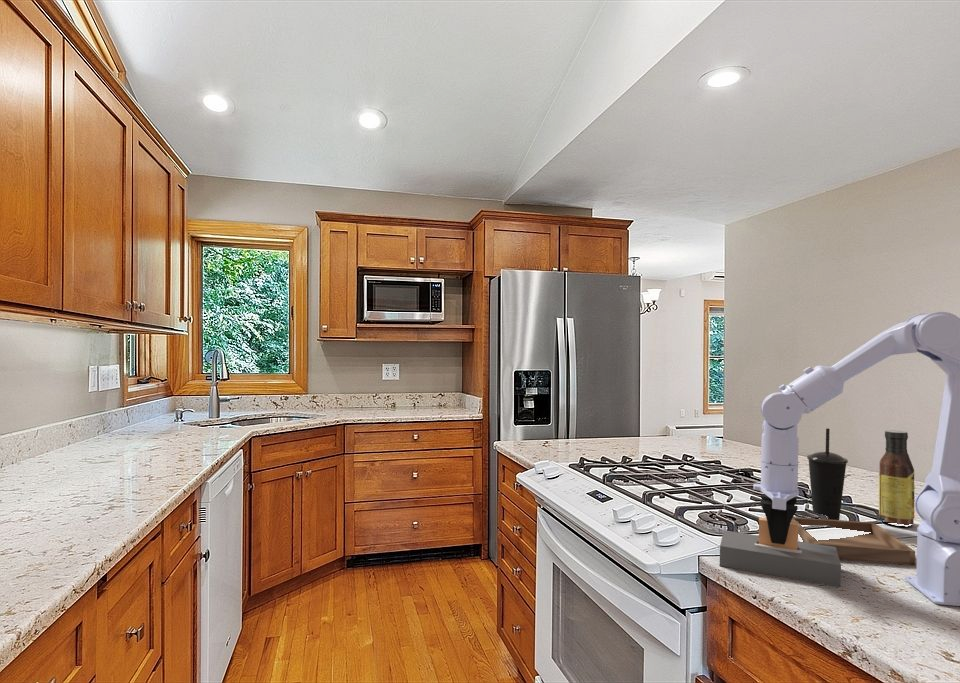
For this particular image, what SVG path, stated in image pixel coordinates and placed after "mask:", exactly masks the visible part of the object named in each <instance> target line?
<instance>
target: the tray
mask: <svg viewBox="0 0 960 683" xmlns="http://www.w3.org/2000/svg"><path fill="white" fill-rule="evenodd" d="M797 521H798V522H799V523H800V524H801V525H829V526H831V527H836V528H842V529H850V530H857V531H864V532H871V533H869V534H865V535H864V534H863V535H858V536H854V537H846V538H840V539H829V540H818V541H817V540H816V539H815V538H814V537H812V536H811V535H810V534H809V533H808V532H807V531H806V530H805V529H804V528H803V527H802V526H801V525H800V524H799V523H798V534H799V535H800V537H801V538H802V540H803V542H805V543H812V544H818V545H825V546H832V547H836V550H837V553H838V556H839V560H840V561H853V562H867V563H879V564H894V565H904V566H915V565H916V550H914V549H913V548H912V547H910V546H909V545H907V544H906V543H904V542H902V541H901V540H899V539H898V537H897V538H896V537H895V536H894V535H893V534H891V533H889V532H888V531H887V530H885V529H884V528H882V527H881V526H880V525H878V524H877V523H875V522H873V521H872V522H871V521H856V520H840V519H839V520H830V519H815V518H813V517H798V516H793V518H792V520H791V522H797Z"/></svg>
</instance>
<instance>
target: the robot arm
mask: <svg viewBox="0 0 960 683" xmlns="http://www.w3.org/2000/svg"><path fill="white" fill-rule="evenodd" d="M914 353H919V354H921V355H923V356H925V357H927V358H929V359H930V360H931V361H932V362H933V363H934V364H935V365H936V366H937V367H939V368H940V369H941V370H942V371H943V372H944V373H945V374H946V375H945V382H944V388H943V389H944V390H943V395H942V402H941V408H940V416H939V420H938V426H937V427H938V428H937V434H936V441H935V447H934V451H933V452H934V454H933V459H932V467H931V470H930V471H929V473H928V474H927V475H926V477H925V479H924V485H923V488H922V489H921V490H920V491H919V493H917V495H916V497H915V498H914V510H915V511H916V513H917V514H918V516H919V517H920V518H921V519H922V520H921V523H919V525H918V526H917V529H916V530H917V534H916V535H917V536H916V538H917V539H916V570H915V571H916V576H914V575H913V576H911V575H905V576H904V580H905V581H906V582H908V583H909V584H910V585H912V586H913V587H914V588H915V589H917V590H918V592H920V593H921V594H922V595H924V596H925V597H927V598H928V599H929V600H930V601H931V602H933V603H934V604H936V605H946V606H957V607H960V317H959V316H957V315H955V314H953V313H951V312H947V311H935V312H930V313H918V314H915V315H913V316H911V317H909V318H908V319H907V320H905V321H903V322H899V323H897V324H895V325H892V326H891V327H889V328H887V329H885V330H884V331H882V332H880V333H878V334H877V335H876V336H874V337H872V338H871V339H870V340H869V341H867V342H866V343H864V344H862V345H861V346H859V347H858V348H857V349H855V350H853V351H852V352H851V353H849V354H847V355H846V356H845V357H843V358H841V359H840V360H838V362H836V363H835V364H833V365H831V366H828V365H821V364H820V365H815V367H813V368H812V367H811V366H808V367H806V368H805V369H803V374H802V375H800V376H799V377H797V378H795V379H794V380H793V381H791V382H789V384H786V385H785V384H784V383H783V384H781V385H779V386H778V389H779V390H780V391H778V392H773V393H770V394H769V395H767V396H766V397H765V398H764V399H763V401H762V403H761V406H760V412H761V414H762V417H763V418H764V420H763V422H762V427H761V429H762V434H761V441H760V442H761V443H760V444H761V447H760V448H761V449H760V450H761V451H760V452H761V453H760V455H761V456H760V459H761V460H760V483H753V490H756V491H760V492H761V494H760V498H761V499H760V506H761V509H762V511H763V512H764V516H765V518H767V522H768V528H769V535H770V539H771V542H772V543H776V544H783V545H785V542H786V539H787V535H788V530H789V526H790V523H791V520H792V518H793V517H795V515H796V513H797V511H798V509H799V508H798V505H796V504H797V501H798V500H797V499H798V498H797V497H798V496H799V494H800V490H799V488H798V487H799V486H798V485H799V484H798V483H799V478H798V477H799V436H798V424H799V423H800V421H801V419H802V415H804V414H810V413H812V412H814V411H815V410H816V409H818V408H820V407H822V406H823V405H825V404H827V403H829V402H830V401H831V400H833V399H835V398H836V397H838V396H840V395H841V394H842V393H843V391H844V385H845V382H846V381H849V380H850V379H851V378H854V377H855V376H857V375H859V374H861V373H863V372H864V371H867V370H868V369H869V368H871V367H873V366H875V365H877V364H878V363H880V362H882V361H883V360H885V359H888V358H889V357H890V356H894V355H903V354H904V355H905V354H914Z"/></svg>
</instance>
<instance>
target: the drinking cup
mask: <svg viewBox="0 0 960 683" xmlns="http://www.w3.org/2000/svg"><path fill="white" fill-rule="evenodd" d="M830 433H831V432H830V428H825V451H819V452H818V451H817V452H814V453H811V454H807V455H806V458H807V460H808V470H809V481H810V482H809V483H810V493H811V506H812V513H813V512H815V513H818V514H823V515H826V516H828V517H829V519H830V520H840V518H841V510H842V502H843V501H842V500H843V492H844V484H845V478H846V468H847V464H848V463H849V460H848V458H846V457H843V456H841V455H840V454H837V453H834V452H830Z"/></svg>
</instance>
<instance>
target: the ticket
mask: <svg viewBox="0 0 960 683" xmlns="http://www.w3.org/2000/svg"><path fill="white" fill-rule="evenodd" d="M758 536H759V544H762V545H769V546H775V547H782V548H788V549H795V550H798V542H799V540H798V522H791V523H790V526H789V530H788V535H787V539H786V542H785V545H783V544H776V543H772V542H771V539H770V535H769V528H768V522H767V518H766V517H762V516H761V517H758Z"/></svg>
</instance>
